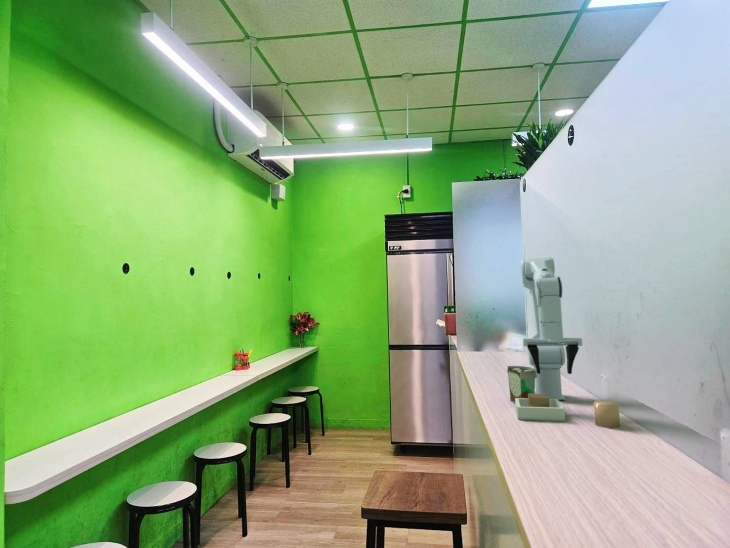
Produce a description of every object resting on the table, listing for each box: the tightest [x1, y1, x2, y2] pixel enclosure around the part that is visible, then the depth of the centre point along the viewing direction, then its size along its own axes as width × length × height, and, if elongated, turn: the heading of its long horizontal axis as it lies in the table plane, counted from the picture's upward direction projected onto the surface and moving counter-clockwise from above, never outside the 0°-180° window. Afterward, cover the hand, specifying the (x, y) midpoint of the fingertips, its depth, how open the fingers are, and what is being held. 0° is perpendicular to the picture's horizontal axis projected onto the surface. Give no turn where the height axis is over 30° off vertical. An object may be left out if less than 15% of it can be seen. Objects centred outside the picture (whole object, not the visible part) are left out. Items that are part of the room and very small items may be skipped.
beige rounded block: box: [593, 400, 621, 429], centre depth 100 cm, size 5×5×5 cm
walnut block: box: [528, 394, 549, 407], centre depth 110 cm, size 4×4×4 cm
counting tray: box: [514, 398, 566, 422], centre depth 110 cm, size 11×11×3 cm
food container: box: [506, 365, 537, 405], centre depth 123 cm, size 12×6×10 cm, turn 179°
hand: (553, 373), depth 116 cm, fingers open, 7 cm apart
